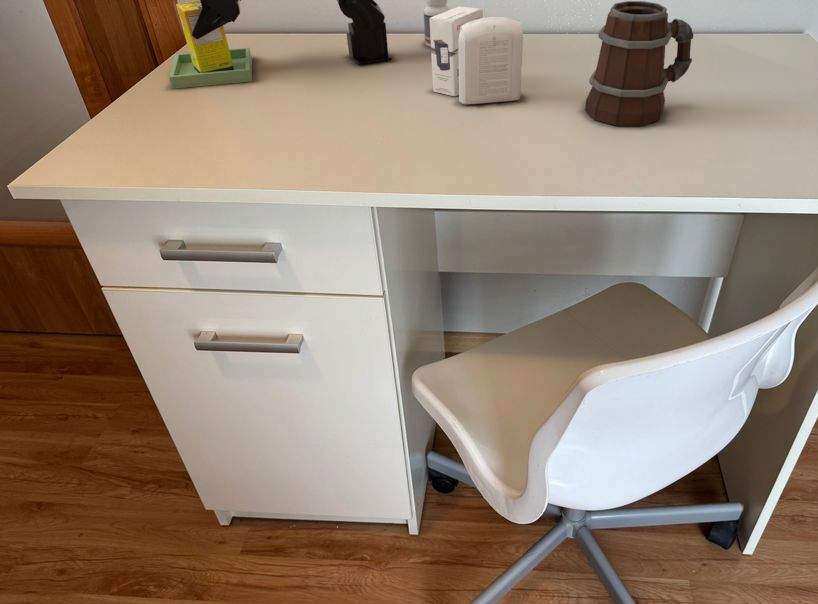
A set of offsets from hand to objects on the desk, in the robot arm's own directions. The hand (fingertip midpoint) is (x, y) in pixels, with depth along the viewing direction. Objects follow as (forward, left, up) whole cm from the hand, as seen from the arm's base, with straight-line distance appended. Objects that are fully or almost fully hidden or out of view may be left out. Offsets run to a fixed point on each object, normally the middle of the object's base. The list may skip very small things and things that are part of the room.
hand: (195, 31), depth 117 cm
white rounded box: (-39, +36, -7) cm, 54 cm away
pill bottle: (-44, +4, -7) cm, 45 cm away
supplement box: (-1, 0, -7) cm, 7 cm away
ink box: (-37, +28, -7) cm, 47 cm away
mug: (-57, +51, -7) cm, 77 cm away
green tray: (-1, 0, -7) cm, 7 cm away
